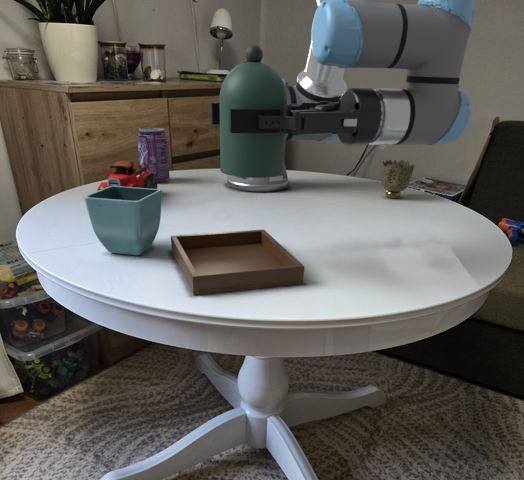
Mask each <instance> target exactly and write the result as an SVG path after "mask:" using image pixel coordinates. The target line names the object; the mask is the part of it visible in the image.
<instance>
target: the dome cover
mask: <svg viewBox="0 0 524 480" xmlns="http://www.w3.org/2000/svg"><path fill="white" fill-rule="evenodd" d="M263 57H264V52H263V49H262V48H261V47H260V46H259V45H258V44H251V45H249V46H248V47H247V49H246V51H245V58H246V61H245V62H242V63H239V64H238V65H235V67H234V68H232V69H231V70H230V71H229V72H228V73H227V74H226V76H225V78H224V79H223V82H222V83H221V87H220V91H219V103H220V125H219V153H220V154H219V165H220V167H219V168H220V172H221V173H222V174H224V175H226V176H228V175H231V176H237V177H248V178H265V177H274V176H279V175H282V174H283V173H284V164H285V153H286V140H285V136H286V134H285V133H283V132H281V131H282V129H280V133H230V132H229V109H281V113H280V115H282V109H283V104H286V105H287V92H286V88H285V85H284V82H283V80H282V79H283V78H282V77H281V75H280V74H279V73H278V71H276V69H274V68H273V67H272V66H270V65H269V64H267V63H264V62H262V61H263Z"/></svg>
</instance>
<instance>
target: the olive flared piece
mask: <svg viewBox="0 0 524 480" xmlns="http://www.w3.org/2000/svg"><path fill="white" fill-rule="evenodd" d="M415 165H416V163H415V162H412V163H411V164H410V161H409V160H407V161H405V160H403V159H400V160H399V161H397V159H394V160H393V161H392V160H391V159H389V160H388V159H386V160H385V161H384V159H382V161H381V168H380V169H381V173H380V182H381V186H382V188H383V189H384V190H385V193H384V195H385V197H386V198H388V199H399V198H401V196H402V192H403V191H404V190H406V189H407V188H408V186H409V184H410V182H411V179H412V176H413V171H414V169H415Z"/></svg>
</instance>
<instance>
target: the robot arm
mask: <svg viewBox="0 0 524 480" xmlns="http://www.w3.org/2000/svg"><path fill="white" fill-rule="evenodd" d="M475 2H476V0H418V1H417V3H415V4H414V3H391V2H380V1H378V0H316V3H317V8H316V10H315V12H314V17H313V19H312V24H311V32H310V36H311V37H310V39H311V43H310V47H309V52H308V57H307V61H306V65H305V68H304V69H303V70H302V71H300V72H299V73H298V74H297V78H296V83H295V85H287V82H286V80H285V79H284V78H282V80H283V82H284V85H285V88H286V92H287V105H286V104H283V109H282V115H280V113H281V109H229V132H230V133H280V129H282V131H281V132H283V133H285V134H286V136H285V141H316V142H322V141H331V140H335V139H336V138H338V139H339V142H341V144H342V145H345V146H347V147H348V146H349V147H350V146H351V147H353V146H368V145H370V146H379V149H380V150H385V149H386V148H387V145H393V146H396V145H397V146H398V145H399V146H401V145H404V146H406V145H407V146H408V145H413V146H414V145H415V146H416V145H417V146H418V145H419V146H420V145H421V146H423V145H424V146H426V145H427V146H433V145H439V144H449V143H452V142H456V141H457V140H458V139H459V138H460V137H462V136H463V134H464V133H465V131H466V130H467V128H468V126H469V123H470V119H471V115H472V110H471V109H470V105H471V101H470V97H469V96H468V95H467V93H465V92H464V91H463V90H459V88H460V80H461V77H460V76H461V72H462V68H463V65H464V59H465V54H466V50H467V46H468V41H469V37H470V34H471V32H472V28H473V27H472V26H473V18H474V13H475ZM346 69H393V70H394V69H397V70H407V72H406V78H405V83H406V84H405V88H392V87H390V88H389V87H376V88H371V87H349V88H348V85H347V83H346V80H345V79H344V75H345V71H346ZM210 124H211V125H215V126H216V125H218V126H220V102H210ZM226 176H227V177H226V185H227V186H228V187H229V188H232V189H235V190H240V191H245V192H259V193H260V192H261V193H263V192H264V193H265V192H278V191H283V190H285V189H286V188H288V186H289V175H288V172H287V168H286V164H285V163H284V173H283V174H282V175H279V176H274V177H265V178H248V177H237V176H231V175H226Z"/></svg>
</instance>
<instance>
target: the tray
mask: <svg viewBox="0 0 524 480" xmlns="http://www.w3.org/2000/svg"><path fill="white" fill-rule="evenodd" d="M170 249H171V253H172V255H173V257H174V259H175V261H176V263H177V265H178V267H179V269H180V271H181V273H182V275H183V277H184V279H185V281H186V283H187V285H188V287H189V289H190V291H191V293H192V295H193V296H197V295H199V296H200V295H208V294H217V293H227V292H236V291H244V290H246V291H247V290H254V289H263V288H265V289H266V288H275V287H284V286H295V285H303V284H304V282H305V281H304V280H305V267H306V266H305V264H303V263H301V261H299V260H298V259H297V258H296V257H295V256H294V255H293V254H292V253H291V252H290V251H288V250H287V249H286V248H285V247H284V246H283V245H282V244H280V242H279V241H277V240H276V239H275V238H274V237H273V236H272V235H271V234H270V233H269V232H267V231H266V230H265V229H251V230H237V231H222V232H207V233H206V232H205V233H193V234H191V233H190V234H177V235H170Z"/></svg>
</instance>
